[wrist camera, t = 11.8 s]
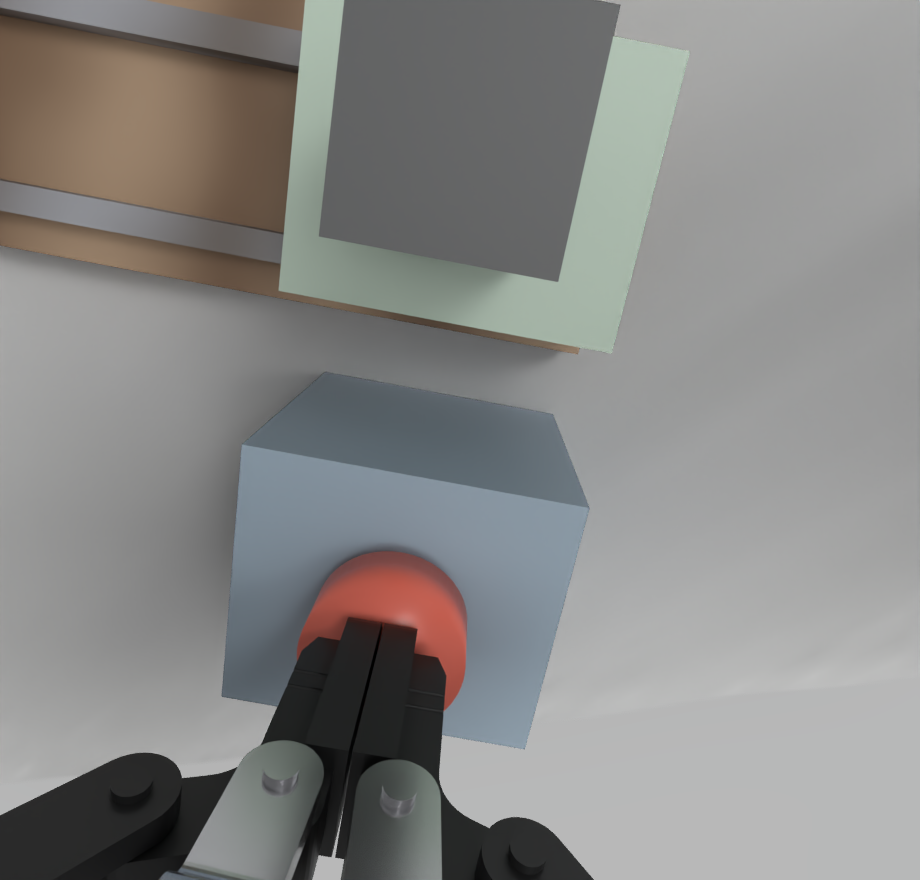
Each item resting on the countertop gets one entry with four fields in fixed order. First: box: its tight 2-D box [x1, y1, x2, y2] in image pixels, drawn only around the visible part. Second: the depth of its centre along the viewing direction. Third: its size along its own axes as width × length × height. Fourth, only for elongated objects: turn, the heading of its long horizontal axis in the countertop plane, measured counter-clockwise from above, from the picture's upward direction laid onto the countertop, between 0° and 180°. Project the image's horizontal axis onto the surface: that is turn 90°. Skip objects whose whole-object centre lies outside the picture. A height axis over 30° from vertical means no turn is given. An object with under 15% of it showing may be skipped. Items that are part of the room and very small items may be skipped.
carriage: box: [279, 0, 690, 354], centre depth 12 cm, size 8×6×10 cm
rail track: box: [0, 0, 579, 354], centre depth 18 cm, size 20×8×3 cm, turn 80°
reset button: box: [297, 551, 467, 711], centre depth 14 cm, size 4×4×2 cm
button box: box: [222, 372, 589, 749], centre depth 19 cm, size 8×7×8 cm
